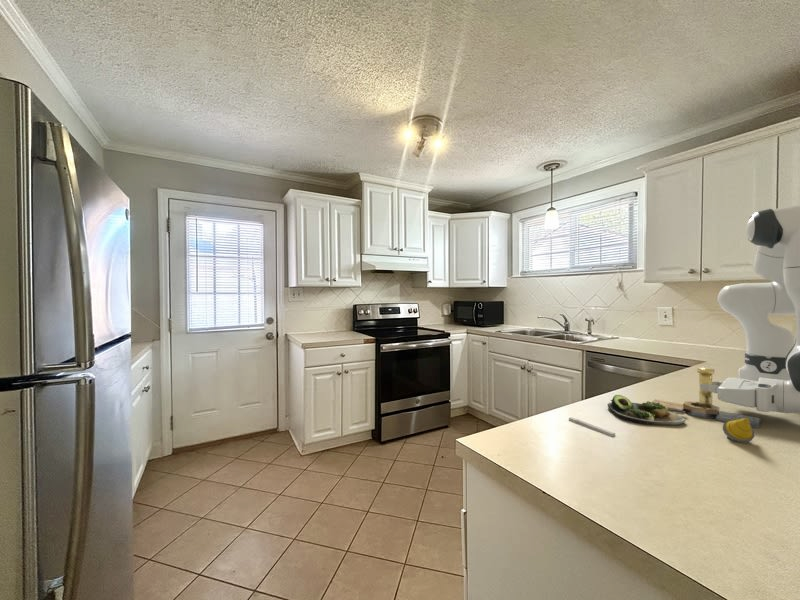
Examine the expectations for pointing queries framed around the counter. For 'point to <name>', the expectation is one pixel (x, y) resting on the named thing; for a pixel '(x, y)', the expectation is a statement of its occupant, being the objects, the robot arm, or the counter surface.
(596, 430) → the white rod
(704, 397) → the hinge pin
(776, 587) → the counter surface
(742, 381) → the robot arm
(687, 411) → the hinge
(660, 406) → the salad plate
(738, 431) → the lemon wedge on dish
